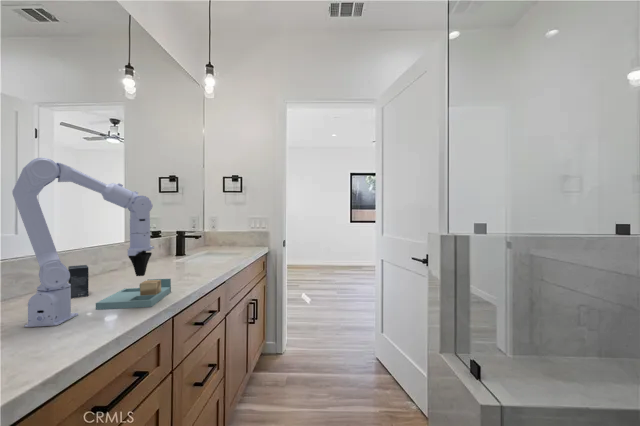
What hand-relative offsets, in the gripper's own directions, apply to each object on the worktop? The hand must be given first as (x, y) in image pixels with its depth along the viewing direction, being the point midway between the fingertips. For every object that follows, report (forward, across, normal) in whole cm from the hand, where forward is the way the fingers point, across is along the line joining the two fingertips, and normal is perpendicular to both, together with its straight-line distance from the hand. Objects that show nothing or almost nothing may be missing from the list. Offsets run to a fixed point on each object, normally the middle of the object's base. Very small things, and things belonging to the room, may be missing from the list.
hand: (140, 275), depth 104 cm
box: (+10, +19, +28) cm, 35 cm away
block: (+7, +7, -1) cm, 10 cm away
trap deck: (+9, +7, +4) cm, 13 cm away
